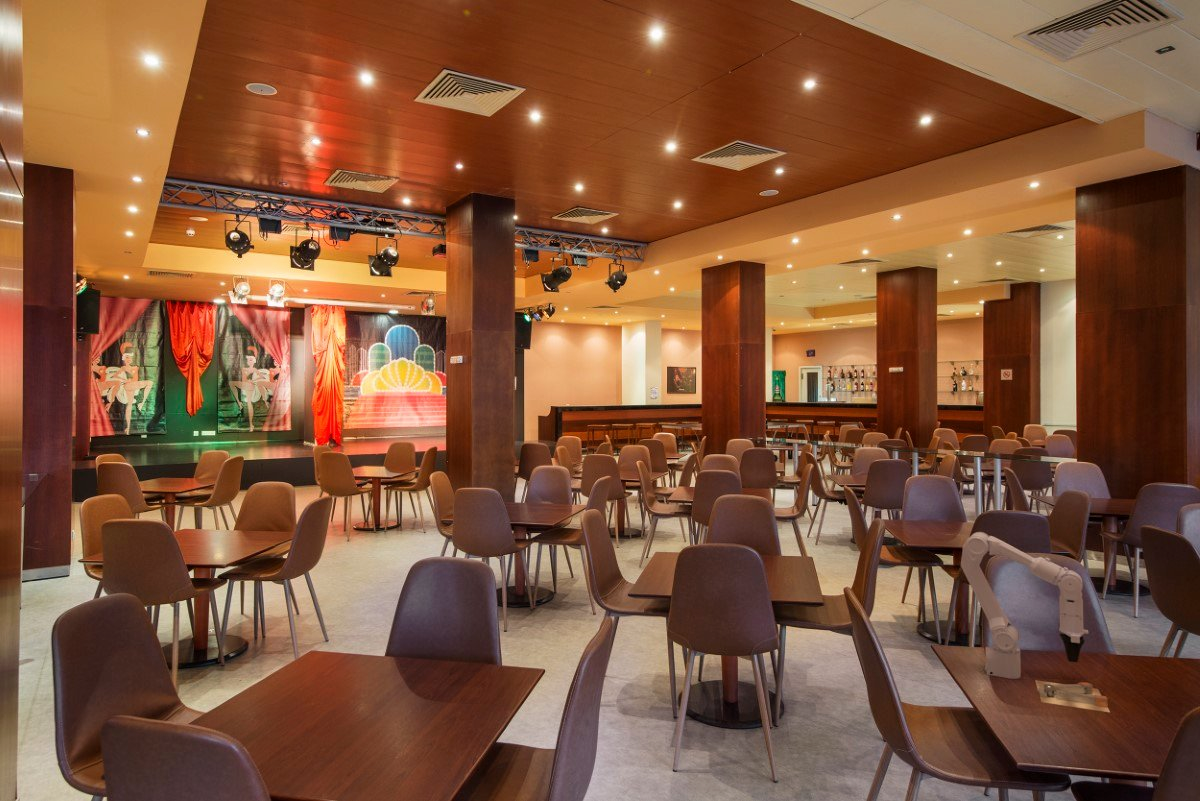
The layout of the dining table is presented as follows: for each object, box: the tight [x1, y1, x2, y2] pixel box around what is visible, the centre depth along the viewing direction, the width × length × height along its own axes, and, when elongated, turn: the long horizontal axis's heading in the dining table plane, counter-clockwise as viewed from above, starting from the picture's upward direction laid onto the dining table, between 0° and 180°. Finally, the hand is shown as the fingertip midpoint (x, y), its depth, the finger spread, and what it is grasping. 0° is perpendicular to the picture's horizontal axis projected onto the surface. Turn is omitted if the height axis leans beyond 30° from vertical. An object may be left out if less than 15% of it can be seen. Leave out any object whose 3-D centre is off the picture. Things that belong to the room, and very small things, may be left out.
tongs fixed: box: [1037, 684, 1109, 708], centre depth 193 cm, size 15×4×3 cm, turn 63°
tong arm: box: [1053, 681, 1094, 694], centre depth 197 cm, size 12×2×2 cm, turn 93°
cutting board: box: [1035, 679, 1111, 713], centre depth 196 cm, size 15×18×1 cm
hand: (1072, 660), depth 203 cm, fingers closed
